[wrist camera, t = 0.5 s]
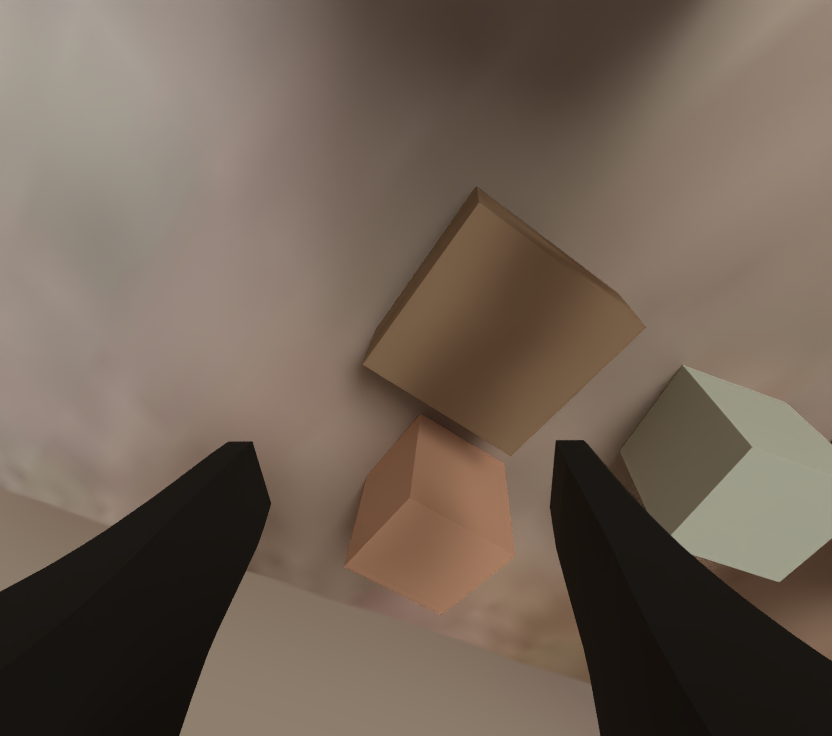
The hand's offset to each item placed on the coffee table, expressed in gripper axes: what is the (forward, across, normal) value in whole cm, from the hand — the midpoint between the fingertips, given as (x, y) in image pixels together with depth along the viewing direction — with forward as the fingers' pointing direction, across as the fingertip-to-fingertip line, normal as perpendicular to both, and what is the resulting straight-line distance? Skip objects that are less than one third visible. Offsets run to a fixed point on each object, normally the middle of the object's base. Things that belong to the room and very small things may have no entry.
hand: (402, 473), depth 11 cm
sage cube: (+10, -12, +6) cm, 17 cm away
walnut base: (+10, -3, 0) cm, 10 cm away
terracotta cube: (+10, 0, +8) cm, 13 cm away
